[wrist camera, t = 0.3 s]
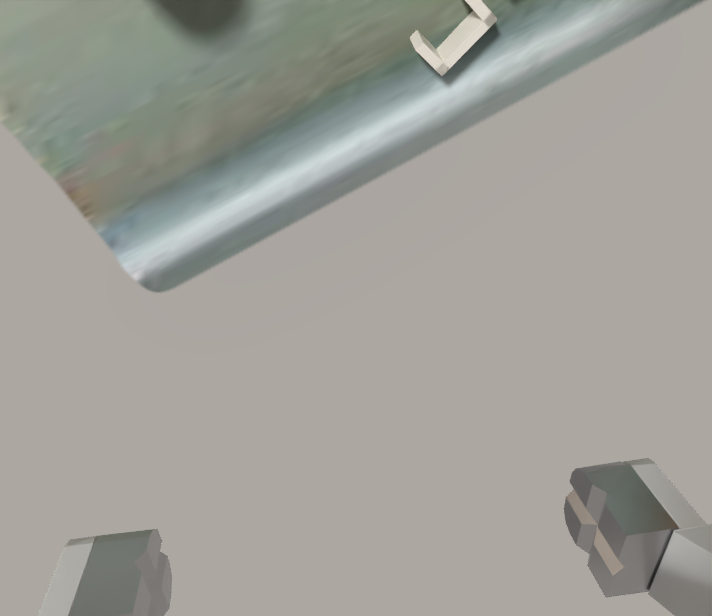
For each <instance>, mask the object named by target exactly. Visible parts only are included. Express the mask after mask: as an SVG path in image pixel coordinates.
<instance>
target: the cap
mask: <svg viewBox="0 0 712 616" xmlns="http://www.w3.org/2000/svg"><path fill="white" fill-rule="evenodd" d="M465 1H466V2H467V3H468V4H469V5H470V7H471V8H472V9H473V11H472V12H471V13H470V14H469V15H468V16H467V17H466V18H465V19H464V20H463V21H462V22H461V23H460V25H459V26H458V27H457V28H456V29H455V30H454V31H453V32H452V33H451V34H450V35H449V36H448V37H447V38H446V39H445V40H444V41H443V43H442V44H441V45H440V46H439V47H438V48H437V49H435V47H434V46H433V45H432V44H431V43H430V42H429V41H428V40H427V39H426V38H425V37H424V36H423V35H422V34H421V33H420V32H419V31H418V30H416V31H415V32H414V33H413V34H412V36H411V37H410V40H411V42H412V44H413V46H414V48H415V50H416V51H417V52H418V53H419V54H420V55H421V56H422V57H423V58H424V59H425V60H426V61H427V62H428V63H429V64H430V65H431V66H432V67H433V68H434V69H435V70H436V71H437V72H438V73H439V74H440V75H441V76H443V75H444V74H445V73H446V72H447V71H448V70H449V69H450V68H451V67H452V66H453V65H454V64H455V63H456V62H457V61H458V60H459V59H460V58H461V57H462V55H463V54H464V53H465V52H466V51H467V50H468V49H469V48H470V47H471V46H472V45H473V44H474V43H475V42H476V41H477V40H478V39H479V38H480V37H481V36H482V35H483V34H484V33H485V32H486V31H487V30H488V29H489V28H490V27H491V26H492V25H493V24H494V23H495V22H496V21H497V20H498V19H497V18H496V17H495V16H494V14H493V13H492V12H491V10H490V9H489V8H488V7H487V5H486V4H485V3H484V2H483V1H482V0H465Z"/></svg>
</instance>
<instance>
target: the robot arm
mask: <svg viewBox="0 0 712 616" xmlns="http://www.w3.org/2000/svg"><path fill="white" fill-rule="evenodd" d="M570 483H571V485H572V486H573V488H574V490H573V491H572V492H571V493H570V494H569V495H568V496H567V497H566V500H565V506H564V513H565V520H566V524H567V527H568V529H569V532H570V534H571V536H572V538H573V540H574V542H575V544H576V545H577V546H579V547H580V548H582V549H583V550H584V551H586V552H588V553H589V560H588V567H589V569H590V570H591V572H592V574H593V576H594V577H595V579H596V581H597V582H598V584H599V586H600V588H601V589H602V591H603V593H604V595H605V597H612V596H619V595H625V594H634V593H640V592H648V591H649V593H648V594H649V595H650V596H651V597H652V598H654V599H655V600H656V601H658V602H659V603H660V604H661V605H662V606H664V607H665V608H666V609H667V610H668V611H670V612H671V613H672V614H673V615H675V616H712V524H709V525H707V524H706V523H705V522H704V521H703V519H702V518H701V517H700V516H699V514H698V513H697V512H696V511H695V510H694V508H693V507H692V506H691V505H690V504H689V503H688V501H687V500H686V499H685V498H684V497H683V495H682V494H681V493H680V492H679V491H678V489H677V488H676V487H675V486H674V485H673V483H672V482H671V481H670V480H669V479H668V477H667V476H666V475H665V474H664V473H663V472H662V470H661V469H660V468H659V467H658V466H657V464H656V463H655V462H654V461H652V460H650V459H649V458H646V459H639V460H632V461H625V462H614V463H608V464H602V465H595V466H590V467H583V468H577V469H575V470H574V471H573V472H572V475H571V479H570ZM161 542H162V540H161V537H160V535H159V532H158V530H157V529H153V530H145V531H136V532H127V533H118V534H109V535H102V536H93V537H86V538H79V539H71V540H69V542H68V543H67V545H66V546H65V547H64V548H63V550H62V553H61V556H60V558H59V561H58V564H57V566H56V569H55V572H54V575H53V577H52V580H51V582H50V585H49V588H48V590H47V593H46V596H45V598H44V601H43V604H42V606H41V609H40V612H39V614H38V616H164V615H165V613H166V612H167V611H168V609H169V606H170V599H171V583H172V575H171V568H170V563H169V560H168V557H167V556H166V555H165V554H163V553H161V552H160V548H161Z"/></svg>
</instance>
